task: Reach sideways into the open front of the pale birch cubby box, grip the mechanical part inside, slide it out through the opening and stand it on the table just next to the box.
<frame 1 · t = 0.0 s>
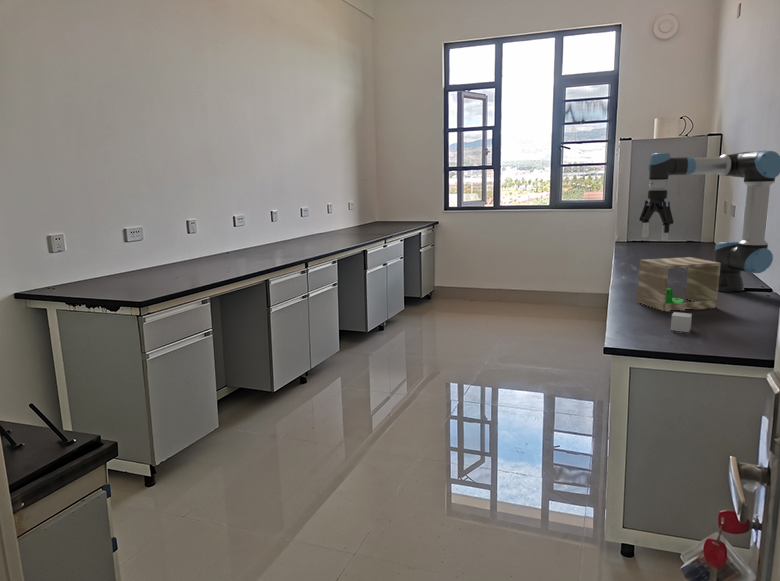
hand: (654, 238, 249), 28 cm above the table, tool pointing down, fingers open, 13 cm apart
cubby box: (674, 304, 246), on the table
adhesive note: (680, 330, 207), on the table
mechanical part: (674, 305, 246), on the table
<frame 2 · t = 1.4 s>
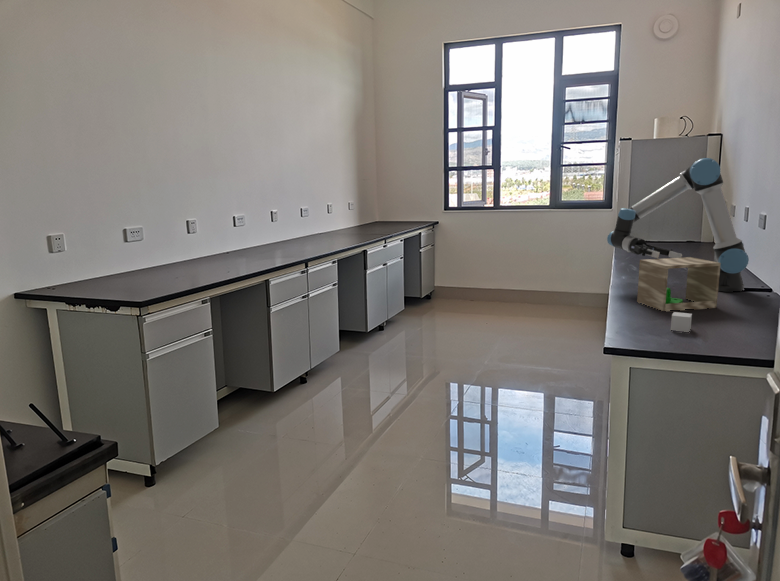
hand: (669, 256, 251), 20 cm above the table, tool horizontal, fingers open, 13 cm apart
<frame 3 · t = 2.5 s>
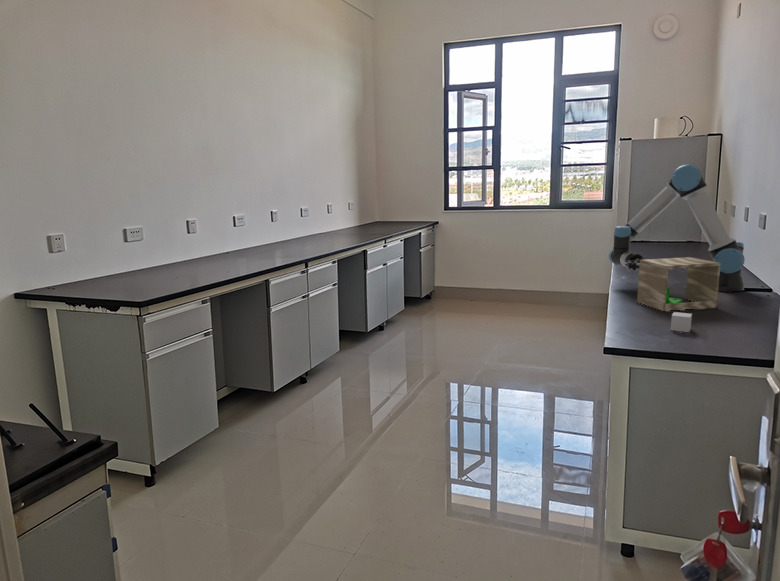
hand: (659, 267, 254), 15 cm above the table, tool horizontal, fingers open, 13 cm apart
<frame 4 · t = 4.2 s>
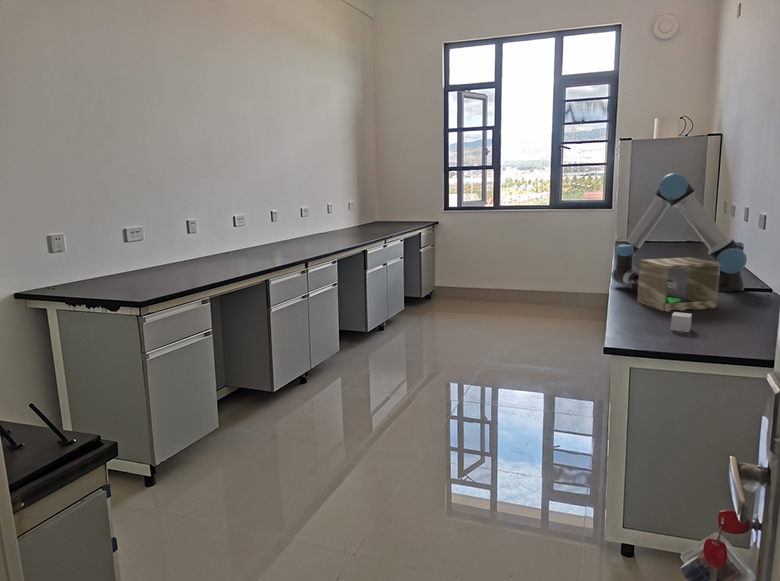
hand: (663, 287, 253), 6 cm above the table, tool horizontal, fingers open, 13 cm apart
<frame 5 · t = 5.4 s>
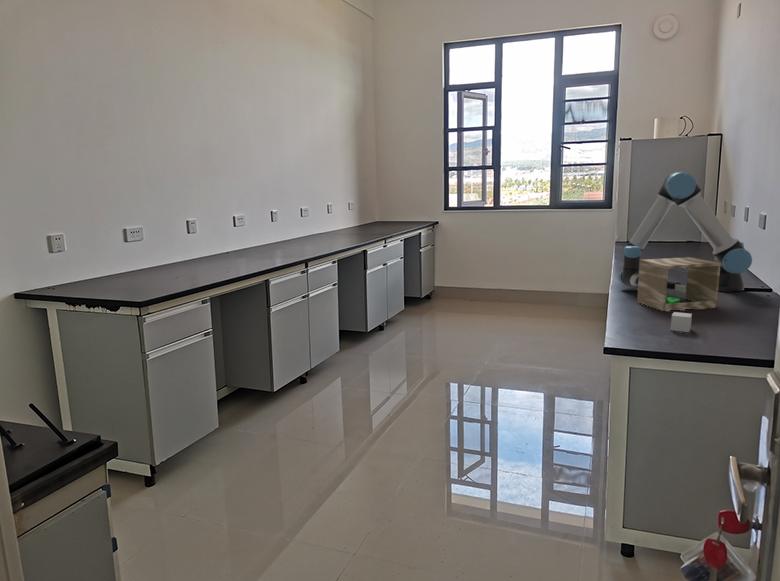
hand: (671, 290, 247), 6 cm above the table, tool horizontal, fingers open, 13 cm apart
mechanical part: (669, 304, 247), on the table, touching gripper
everything else where it was.
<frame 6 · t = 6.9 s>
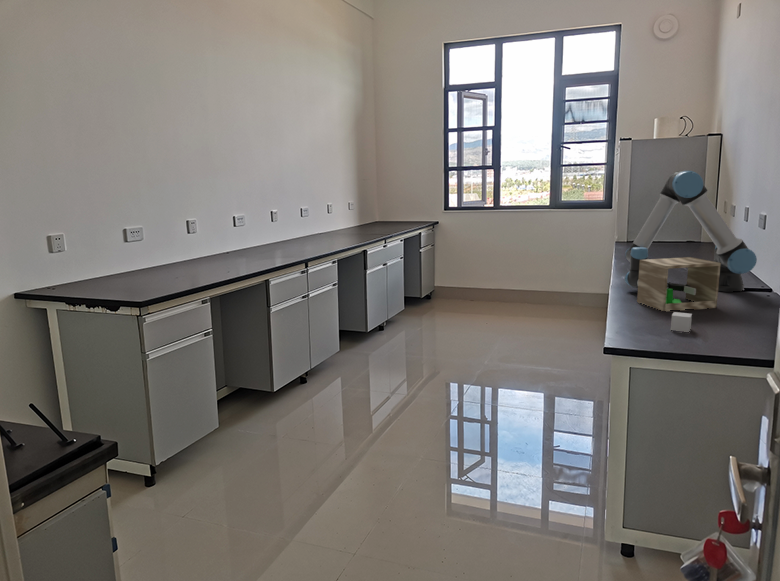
hand: (680, 292, 242), 6 cm above the table, tool horizontal, fingers open, 13 cm apart
mechanical part: (672, 306, 245), on the table, touching gripper
everything else where it was.
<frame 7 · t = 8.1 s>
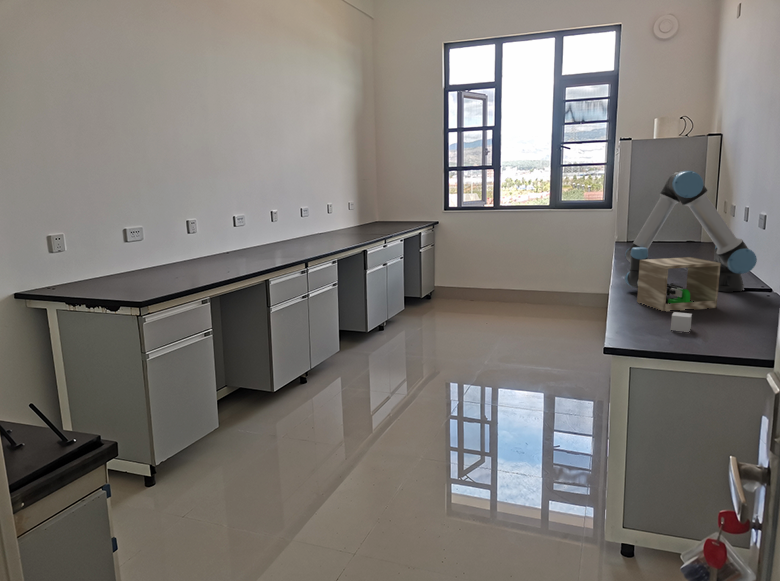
hand: (684, 293, 239), 6 cm above the table, tool horizontal, fingers closed on mechanical part, 2 cm apart
mechanical part: (682, 306, 244), on the table, touching gripper
everything else where it was.
when the fingers open (7 cm above the table, at t = 13.9 s): mechanical part drops 1 cm, on the table.
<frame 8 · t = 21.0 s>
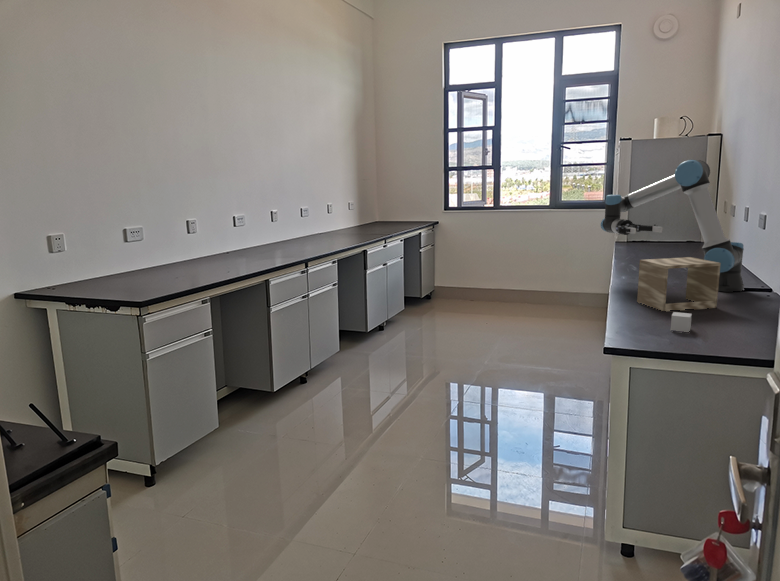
hand: (648, 230, 264), 30 cm above the table, tool horizontal, fingers open, 13 cm apart
mechanical part: (649, 298, 261), on the table
everything else where it was.
at the end: mechanical part inside the target area on the table beside the cubby box (3.3 cm from its centre), on the table; mechanical part tilted 0°; the gripper is holding nothing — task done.
